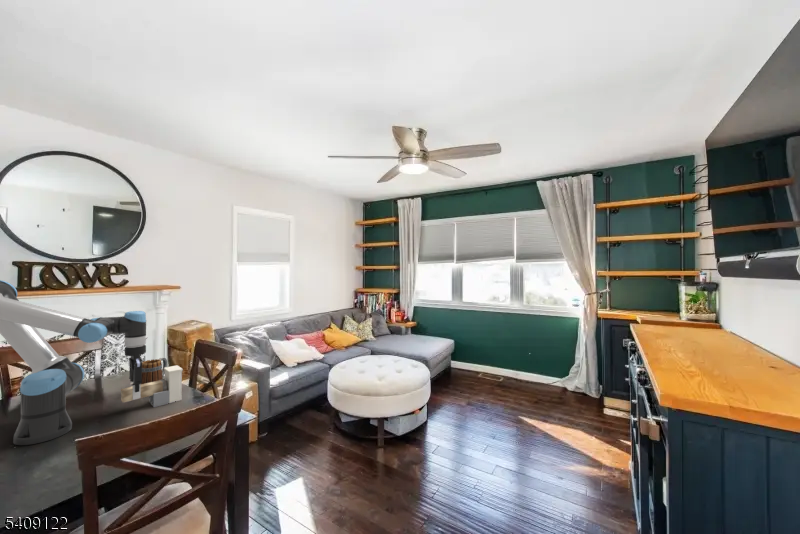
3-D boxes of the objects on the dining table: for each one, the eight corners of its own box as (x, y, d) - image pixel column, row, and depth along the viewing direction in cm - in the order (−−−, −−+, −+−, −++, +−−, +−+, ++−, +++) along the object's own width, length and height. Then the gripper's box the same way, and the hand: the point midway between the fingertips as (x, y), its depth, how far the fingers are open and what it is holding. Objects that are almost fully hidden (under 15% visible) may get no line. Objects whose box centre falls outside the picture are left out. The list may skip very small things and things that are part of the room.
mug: (153, 394, 164) (153, 364, 164) (132, 394, 164) (132, 364, 164) (175, 383, 180) (175, 356, 180) (156, 382, 180) (156, 355, 180)
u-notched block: (153, 407, 150) (154, 374, 149) (149, 402, 155) (149, 370, 155) (182, 399, 158) (182, 368, 158) (177, 395, 164) (177, 365, 164)
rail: (122, 402, 143) (122, 390, 143) (120, 400, 146) (120, 388, 146) (166, 391, 155) (166, 380, 155) (164, 389, 158) (164, 378, 158)
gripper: (150, 347, 145) (150, 399, 145) (141, 341, 156) (141, 389, 156) (128, 350, 139) (128, 405, 139) (121, 343, 151) (121, 394, 151)
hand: (135, 397), depth 148 cm, fingers closed on rail, 4 cm apart
